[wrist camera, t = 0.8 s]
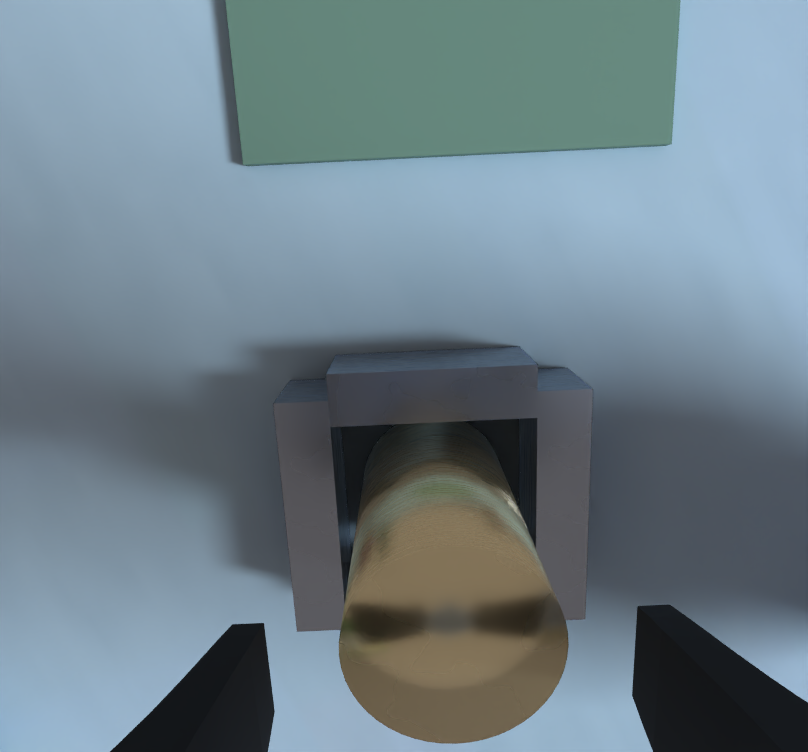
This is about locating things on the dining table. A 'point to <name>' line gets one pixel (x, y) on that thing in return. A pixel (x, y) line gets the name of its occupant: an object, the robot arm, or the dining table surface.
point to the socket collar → (427, 403)
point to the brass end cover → (446, 592)
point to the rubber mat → (449, 77)
